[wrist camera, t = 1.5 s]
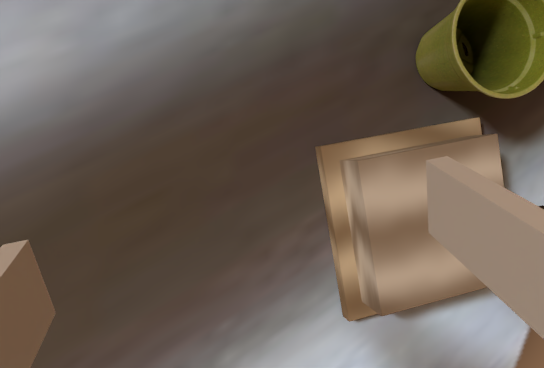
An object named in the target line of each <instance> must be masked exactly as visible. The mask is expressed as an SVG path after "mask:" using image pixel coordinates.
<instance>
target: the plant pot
mask: <svg viewBox="0 0 544 368" xmlns="http://www.w3.org/2000/svg"><path fill="white" fill-rule="evenodd" d="M462 43H463V44H464V45H465V46H466V48H467V51H468V56H465V52H464V48H463V45H462ZM416 65H417V69H418V72H419V74H420V76H421V77H422V79H423V80H424V81H425V82H426V83H427V84H428V85H430V86H432V87H434V88H436V89H438V90H441V91H480V92H482V93H483V94H485V95H488V96H490V97H494V98H500V99H510V98H516V97H520V96H522V95H525V94H527V93H529V92H530V91H532V90H534V89H535V88H536V87H537V86H538V85H539V84H540V83H541V82H542V81H543V80H544V0H460V2H459V4H458V6H457V7H456V9H455V10H454V11H453V12H452V13H451V14H449V15H448V16H447V17H446V18H444V19H443V20H442V21H441V22H439V23H438V24H437V25H435V26H434V27H433V28H432V29H430V30H429V31H428V32H427V33H426V34H425V35H424V36H423V37H422V39H421V41H420V44H419V46H418V49H417V52H416Z"/></svg>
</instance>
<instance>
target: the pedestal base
mask: <svg viewBox="0 0 544 368" xmlns="http://www.w3.org/2000/svg"><path fill="white" fill-rule="evenodd" d="M315 149H316V155H317V161H318V167H319V173H320V179H321V185H322V191H323V197H324V203H325V209H326V216H327V222H328V228H329V234H330V240H331V246H332V252H333V258H334V264H335V270H336V276H337V282H338V288H339V294H340V301H341V307H342V313H343V316H344V317H345V318H346V319H347V320H348V321H353V320H357V319H360V318H364V317H368V316H371V315H375V314H380V315H381V316H384V315H388V314H392V313H395V312H399V311H403V310H406V309H410V308H414V307H417V306H421V305H425V304H428V303H432V302H436V301H439V300H443V299H447V298H450V297H454V296H458V295H461V294H465V293H468V292H472V291H476V290H479V289H483V288H487V286H486V285H485V284H484V283H483V282H481V281H480V280H479V279H478V278H477V277H476V276H475V275H474V274H473V273H472V272H471V271H470V270H468V269H467V268H466V267H465V266H464V265H463V264H462V263H461V262H460V261H459V260H458V259H457V258H456V257H454V256H453V255H452V254H451V253H450V252H449V251H448V250H447V249H446V248H445V247H444V246H443V245H441V244H440V243H439V242H438V241H437V240H436V239H435V238H434V237H433V236H432V235H431V234H430V233H429V230H428V202H427V174H426V160H430V159H435V158H440V157H445V156H448V157H450V158H452V159H454V160H455V161H457V162H459V163H461V164H463V165H464V166H466V167H468V168H470V169H472V170H473V171H475V172H477V173H479V174H481V175H482V176H484V177H486V178H488V179H490V180H491V181H493V182H495V183H497V184H499V185H500V186H502V187H504V183H503V175H502V167H501V159H500V151H499V143H498V135H497V134H487V135H482V132H481V124H480V117H479V118H470V119H465V120H459V121H454V122H448V123H443V124H437V125H432V126H426V127H421V128H416V129H410V130H405V131H399V132H394V133H388V134H383V135H378V136H372V137H367V138H361V139H356V140H350V141H345V142H339V143H334V144H329V145H323V146H318V147H315Z"/></svg>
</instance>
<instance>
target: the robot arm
mask: <svg viewBox="0 0 544 368" xmlns="http://www.w3.org/2000/svg"><path fill="white" fill-rule="evenodd" d="M426 174H427V202H428V230H429V233H430V234H431V235H432V236H433V237H434V238H435V239H436V240H437V241H438V242H439V243H440V244H441V245H443V246H444V247H445V248H446V249H447V250H448V251H449V252H450V253H451V254H452V255H453V256H454V257H456V258H457V259H458V260H459V261H460V262H461V263H462V264H463V265H464V266H465V267H466V268H467V269H468V270H470V271H471V272H472V273H473V274H474V275H475V276H476V277H477V278H478V279H479V280H480V281H481V282H483V283H484V284H485V285H486V286H487V287H488V288H489V289H490V290H491V291H492V292H493V293H494V294H495V295H497V296H498V297H499V298H500V299H501V300H502V301H503V302H504V303H505V304H506V305H507V306H508V307H510V308H511V309H512V310H513V311H514V312H515V313H516V314H517V315H518V316H519V317H520V318H521V319H522V320H524V321H525V322H526V323H527V324H528V325H529V326H530V327H531V328H532V329H533V330H534V331H536V332H537V333H538V334H539V335H540V336H541V337H542V338H543V339H544V206H536V205H535V204H533V203H531V202H529V201H527V200H526V199H524V198H522V197H520V196H518V195H517V194H515V193H513V192H511V191H509V190H508V189H506V188H504V187H502V186H500V185H499V184H497V183H495V182H493V181H491V180H490V179H488V178H486V177H484V176H482V175H481V174H479V173H477V172H475V171H473V170H472V169H470V168H468V167H466V166H464V165H463V164H461V163H459V162H457V161H455V160H454V159H452V158H450V157H448V156H445V157H440V158H435V159H430V160H426ZM55 313H56V312H55V310H54V307H53V304H52V302H51V299H50V296H49V294H48V291H47V289H46V286H45V283H44V281H43V278H42V275H41V273H40V270H39V267H38V265H37V262H36V259H35V257H34V254H33V251H32V249H31V246H30V243H29V241H28V240H25V241H20V242H15V243H10V244H5V245H2V246H1V248H0V368H30V367H31V365H32V363H33V361H34V358H35V356H36V354H37V352H38V350H39V348H40V346H41V343H42V341H43V339H44V337H45V335H46V333H47V330H48V328H49V326H50V324H51V322H52V320H53V317H54V315H55Z"/></svg>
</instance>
